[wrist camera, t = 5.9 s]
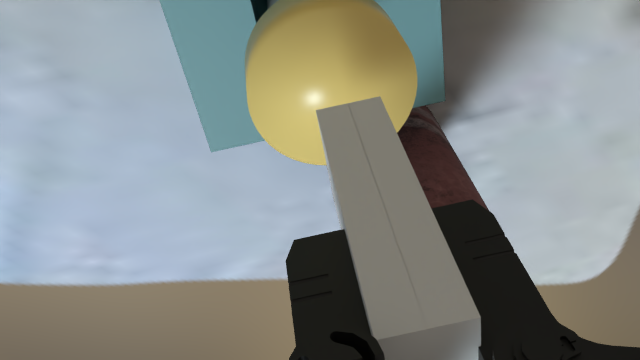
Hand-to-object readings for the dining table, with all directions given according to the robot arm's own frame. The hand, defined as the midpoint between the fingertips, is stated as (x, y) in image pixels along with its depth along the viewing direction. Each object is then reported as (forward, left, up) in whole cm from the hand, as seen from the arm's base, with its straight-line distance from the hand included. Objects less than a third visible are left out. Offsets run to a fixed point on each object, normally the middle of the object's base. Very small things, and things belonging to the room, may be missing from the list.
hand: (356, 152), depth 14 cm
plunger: (0, 0, -11) cm, 11 cm away
